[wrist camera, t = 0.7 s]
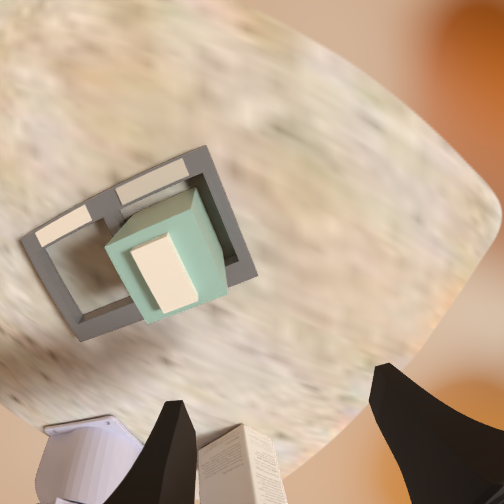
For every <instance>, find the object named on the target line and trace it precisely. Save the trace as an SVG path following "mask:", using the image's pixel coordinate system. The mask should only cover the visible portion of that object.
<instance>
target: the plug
mask: <svg viewBox="0 0 504 504" xmlns="http://www.w3.org/2000/svg"><path fill="white" fill-rule="evenodd" d="M104 248H105V250H106V252H107V253H108V255H109V257H110V259H111V261H112V263H113V265H114V267H115V269H116V271H117V272H118V274H119V276H120V278H121V280H122V282H123V283H124V285H125V287H126V289H127V291H128V292H129V294H130V296H131V298H132V299H133V301H134V303H135V304H136V306H137V308H138V310H139V311H140V313H141V315H142V316H143V318H144V320H145V321H146V323H147V324H150V323H152V322H155V321H158V320H161V319H163V318H166V317H169V316H172V315H174V314H177V313H180V312H182V311H185V310H188V309H190V308H193V307H196V306H198V305H201V304H204V303H206V302H209V301H212V300H214V299H217V298H219V297H222V296H225V295H227V294H229V293H228V286H227V279H226V272H225V265H224V258H223V251H222V246H221V244H220V242H219V239H218V237H217V235H216V232H215V230H214V228H213V225H212V223H211V221H210V218H209V216H208V213H207V211H206V209H205V206H204V204H203V202H202V199H201V197H200V194H199V192H198V190H197V187H194V188H191V189H189V190H186V191H184V192H182V193H179V194H177V195H175V196H172V197H170V198H168V199H165V200H163V201H161V202H159V203H156V204H154V205H152V206H150V207H147V208H145V209H143V210H141V211H139V212H136V213H134V214H133V215H132V216H131V218H130V219H129V220H128V221H127V222H126V223H125V224H124V225H123V226H122V227H121V229H120V230H119V231H118V232H117V233H116V234H115V235H114V237H113V238H112V239H111V240H110V241H109V242H108V243H107V245H106V246H105V247H104Z"/></svg>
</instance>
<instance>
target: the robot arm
mask: <svg viewBox="0 0 504 504" xmlns="http://www.w3.org/2000/svg"><path fill="white" fill-rule="evenodd" d="M369 403H370V406H371V409H372V412H373V414H374V417H375V420H376V422H377V424H378V426H379V428H380V430H381V432H382V434H383V436H384V438H385V440H386V442H387V444H388V445H389V447H390V449H391V451H392V453H393V455H394V457H395V459H396V461H397V463H398V465H399V467H400V470H401V472H402V475H403V478H404V481H405V483H406V486H407V489H408V492H409V495H410V499H411V502H412V504H504V431H503V430H499V429H496V428H493V427H490V426H488V425H485V424H483V423H480V422H478V421H476V420H473V419H471V418H469V417H467V416H465V415H463V414H461V413H459V412H457V411H456V410H454V409H452V408H451V407H449V406H448V405H446V404H444V403H443V402H441V401H439V400H438V399H437V398H435V397H434V396H432V395H431V394H430V393H428V392H427V391H425V390H424V389H423V388H421V387H420V386H419V385H417V384H416V383H415V382H413V381H412V380H411V379H410V378H408V377H407V376H406V375H404V374H403V373H402V372H401V371H399V370H398V369H397V368H396V367H394V366H393V365H392V364H390V363H386V364H382V365H379V366H375V371H374V376H373V382H372V387H371V392H370V397H369ZM44 431H45V432H46V433H47V434H48V435H49V439H48V442H47V445H46V447H45V450H44V453H43V456H42V459H41V462H40V465H39V468H38V471H37V474H36V478H35V489H36V493H37V496H38V499H39V501H40V502H41V503H38V504H194V498H195V480H196V462H197V448H196V433H195V429H194V427H193V425H192V422H191V420H190V418H189V415H188V413H187V410H186V408H185V405H184V403H183V400H177V401H166V402H165V403H164V406H163V408H162V410H161V413H160V415H159V417H158V419H157V422H156V424H155V426H154V428H153V430H152V432H151V434H150V436H149V438H148V439H147V441H146V443H145V445H144V446H143V445H142V444H141V443H140V442H139V441H138V440H137V439H136V438H135V437H134V436H133V435H132V434H131V433H130V432H129V431H128V430H127V429H126V428H125V427H124V426H123V425H122V424H121V423H120V422H119V421H118V420H117V419H116V418H115V417H114V416H106V417H101V418H96V419H90V420H85V421H80V422H74V423H68V424H62V425H55V426H48V427H45V429H44Z"/></svg>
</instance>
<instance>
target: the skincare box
mask: <svg viewBox="0 0 504 504" xmlns="http://www.w3.org/2000/svg"><path fill="white" fill-rule="evenodd" d="M198 469H199V495H200V504H288V502H287V498H286V494H285V490H284V486H283V483H282V478H281V474H280V470H279V466H278V462H277V458H276V454H275V450H274V446H273V442H272V440H271V439H270V438H268V437H267V436H265V435H263V434H262V433H260V432H258V431H256V430H254V429H253V428H250V427H249V426H247V425H244V424H241V425H240V426H238V427H237V428H235V429H233V430H232V431H230V432H229V433H227V434H225V435H224V436H222V437H220V438H219V439H217V440H215V441H214V442H212V443H210V444H208V445H207V446H205V447H203V448H202V449H200V450H198Z"/></svg>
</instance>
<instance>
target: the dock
mask: <svg viewBox="0 0 504 504" xmlns="http://www.w3.org/2000/svg"><path fill="white" fill-rule="evenodd" d="M201 173H203V175H204V177H205V180H206V182H207V185H208V187H209V190H210V192H211V194H212V197H213V199H214V202H215V204H216V207H217V209H218V212H219V214H220V216H221V219H222V221H223V224H224V226H225V228H226V231H227V233H228V236H229V238H230V241H231V243H232V245H233V248H234V250H235V253H236V255H233V256H231V257H228V258H226V259H224V265H225V272H226V279H227V286H228V287H231V286H234V285H236V284H239V283H241V282H244V281H246V280H249V279H252V278H254V277H257V276H258V274H257V271H256V268H255V266H254V263H253V261H252V258H251V256H250V253H249V251H248V248H247V246H246V243H245V241H244V238H243V236H242V233H241V231H240V228H239V226H238V223H237V221H236V218H235V216H234V213H233V211H232V208H231V206H230V203H229V201H228V198H227V196H226V193H225V191H224V188H223V186H222V183H221V181H220V178H219V176H218V173H217V171H216V168H215V166H214V163H213V160H212V158H211V155H210V153H209V150H208V148H207V145H204V146H202V147H199V148H197V149H195V150H192V151H190V152H187V153H185V154H183V155H180V156H178V157H176V158H173V159H171V160H169V161H166V162H164V163H162V164H160V165H157V166H155V167H153V168H151V169H149V170H146V171H144V172H142V173H140V174H138V175H136V176H134V177H132V178H129V179H127V180H125V181H123V182H121V183H119V184H117V185H115V186H113V187H111V188H109V189H107V190H105V191H103V192H101V193H99V194H97V195H96V196H94V197H92V198H90V199H88V200H86V201H84V202H82V203H81V204H79V205H77V206H75V207H73V208H71V209H70V210H68V211H66V212H64V213H62V214H61V215H59V216H57V217H55V218H54V219H52V220H50V221H49V222H47V223H45V224H44V225H42V226H40V227H39V228H37V229H35V230H34V231H32V232H30V233H29V234H27V235H26V236H24V237H23V238H21V239H20V240H21V242H22V244H23V246H24V248H25V250H26V252H27V254H28V256H29V258H30V260H31V262H32V264H33V265H34V267H35V269H36V271H37V273H38V275H39V277H40V278H41V280H42V282H43V284H44V285H45V287H46V289H47V291H48V292H49V294H50V296H51V297H52V299H53V301H54V302H55V304H56V306H57V307H58V309H59V310H60V312H61V314H62V315H63V317H64V318H65V320H66V321H67V323H68V324H69V326H70V328H71V329H72V331H73V332H74V334H75V335H76V336H77V338H78V339H79V341H80V342H83V341H85V340H88V339H91V338H94V337H97V336H100V335H102V334H105V333H108V332H111V331H113V330H116V329H119V328H122V327H125V326H127V325H130V324H133V323H135V322H138V321H141V320H144V318H143V316H142V315H141V313H140V311H139V310H138V308H137V306H136V304H135V303H134V301H133V299H132V298H131V296H130V297H127V298H125V299H122V300H120V301H117V302H115V303H112V304H110V305H107V306H105V307H102V308H100V309H97V310H95V311H92V312H90V313H87V314H85V315H83V314H82V313H81V311H80V309H79V308H78V306H77V305H76V303H75V301H74V300H73V298H72V296H71V295H70V293H69V291H68V289H67V288H66V286H65V284H64V283H63V281H62V279H61V277H60V275H59V274H58V272H57V270H56V268H55V266H54V264H53V263H52V261H51V259H50V257H49V255H48V253H47V251H46V249H45V248H46V247H48V246H50V245H52V244H53V243H55V242H57V241H59V240H61V239H63V238H65V237H66V236H68V235H70V234H72V233H74V232H76V231H78V230H80V229H82V228H84V227H85V226H87V225H89V224H91V223H93V222H95V221H97V220H99V219H101V218H104V220H105V222H106V225H107V227H108V229H109V231H110V233H111V235H112V237H114V235H115V234H116V233H117V232H118V231H119V230H120V229H121V227H122V226H123V225H124V224H125V223H126V222H125V220H124V218H123V215H122V213H121V211H120V209H122V208H124V207H126V206H128V205H130V204H132V203H134V202H137V201H139V200H141V199H143V198H145V197H148V196H150V195H152V194H154V193H156V192H159V191H161V190H163V189H165V188H168V187H170V186H172V185H175V184H177V183H179V182H182V181H184V180H186V179H189V178H191V177H193V176H196V175H198V174H201Z"/></svg>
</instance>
